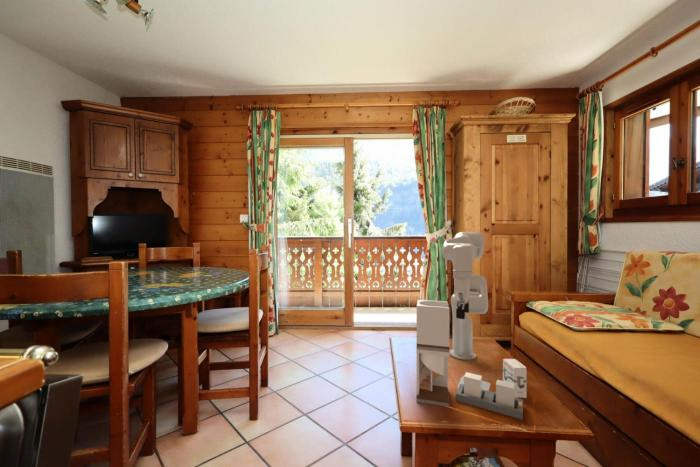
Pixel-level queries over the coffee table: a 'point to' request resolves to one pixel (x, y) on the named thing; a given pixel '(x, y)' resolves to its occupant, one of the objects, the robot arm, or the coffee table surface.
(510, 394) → the off-white rectangular block
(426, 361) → the display case
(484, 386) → the mat
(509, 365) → the ink box
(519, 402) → the power strip
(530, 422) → the coffee table surface
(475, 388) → the plug
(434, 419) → the coffee table surface
